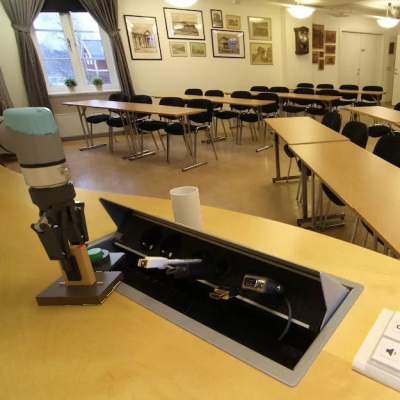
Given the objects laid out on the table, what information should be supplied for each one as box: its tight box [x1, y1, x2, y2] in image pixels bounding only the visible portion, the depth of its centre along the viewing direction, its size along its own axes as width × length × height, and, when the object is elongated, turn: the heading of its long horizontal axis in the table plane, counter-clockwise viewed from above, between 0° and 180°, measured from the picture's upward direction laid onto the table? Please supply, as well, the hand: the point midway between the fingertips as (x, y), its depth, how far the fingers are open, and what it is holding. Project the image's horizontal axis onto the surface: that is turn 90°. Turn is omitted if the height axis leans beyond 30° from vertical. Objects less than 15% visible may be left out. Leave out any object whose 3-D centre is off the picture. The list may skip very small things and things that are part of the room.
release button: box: [87, 247, 103, 260], centre depth 88 cm, size 4×4×2 cm
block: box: [90, 249, 127, 272], centre depth 89 cm, size 11×9×3 cm
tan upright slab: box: [57, 244, 96, 286], centre depth 75 cm, size 6×2×10 cm, turn 92°
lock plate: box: [34, 271, 125, 307], centre depth 78 cm, size 14×10×3 cm
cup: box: [169, 185, 205, 232], centre depth 103 cm, size 8×8×16 cm
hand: (79, 276), depth 76 cm, fingers open, 2 cm apart
